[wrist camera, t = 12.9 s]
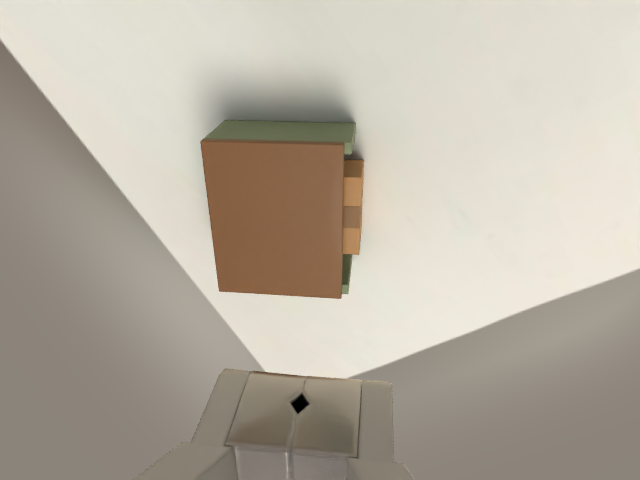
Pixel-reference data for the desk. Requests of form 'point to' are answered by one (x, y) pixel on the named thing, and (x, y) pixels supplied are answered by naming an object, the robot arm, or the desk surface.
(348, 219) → the cardboard box
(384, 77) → the desk surface
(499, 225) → the desk surface
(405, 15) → the desk surface
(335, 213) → the cabinet
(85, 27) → the desk surface
